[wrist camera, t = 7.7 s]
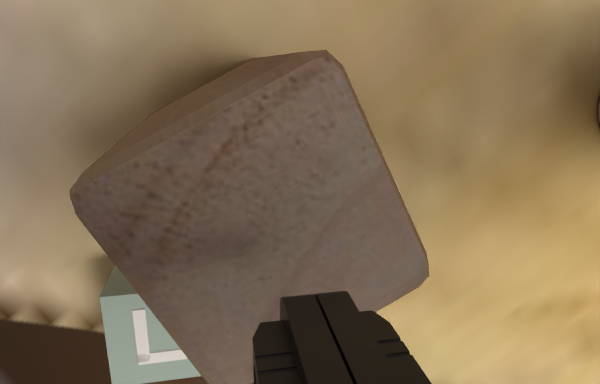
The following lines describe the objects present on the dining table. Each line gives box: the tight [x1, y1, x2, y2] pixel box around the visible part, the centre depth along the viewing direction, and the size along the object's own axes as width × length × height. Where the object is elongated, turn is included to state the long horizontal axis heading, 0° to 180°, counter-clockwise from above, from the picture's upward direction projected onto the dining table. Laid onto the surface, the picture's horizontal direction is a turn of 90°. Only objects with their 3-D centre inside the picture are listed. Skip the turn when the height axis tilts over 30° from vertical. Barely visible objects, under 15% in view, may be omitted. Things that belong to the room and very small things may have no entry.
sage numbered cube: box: [100, 265, 201, 384], centre depth 32 cm, size 7×7×7 cm
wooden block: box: [70, 50, 429, 384], centre depth 24 cm, size 10×10×20 cm
